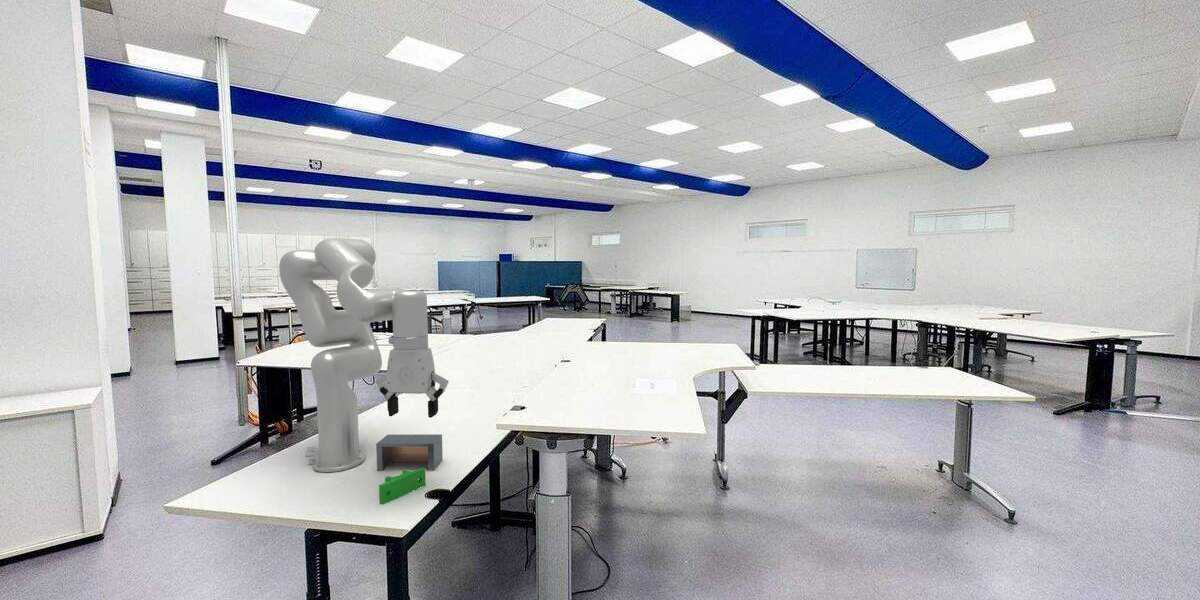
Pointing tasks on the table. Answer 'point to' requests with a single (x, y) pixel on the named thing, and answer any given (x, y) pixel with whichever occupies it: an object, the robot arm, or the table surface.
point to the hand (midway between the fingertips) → (413, 415)
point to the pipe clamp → (401, 485)
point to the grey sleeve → (410, 450)
